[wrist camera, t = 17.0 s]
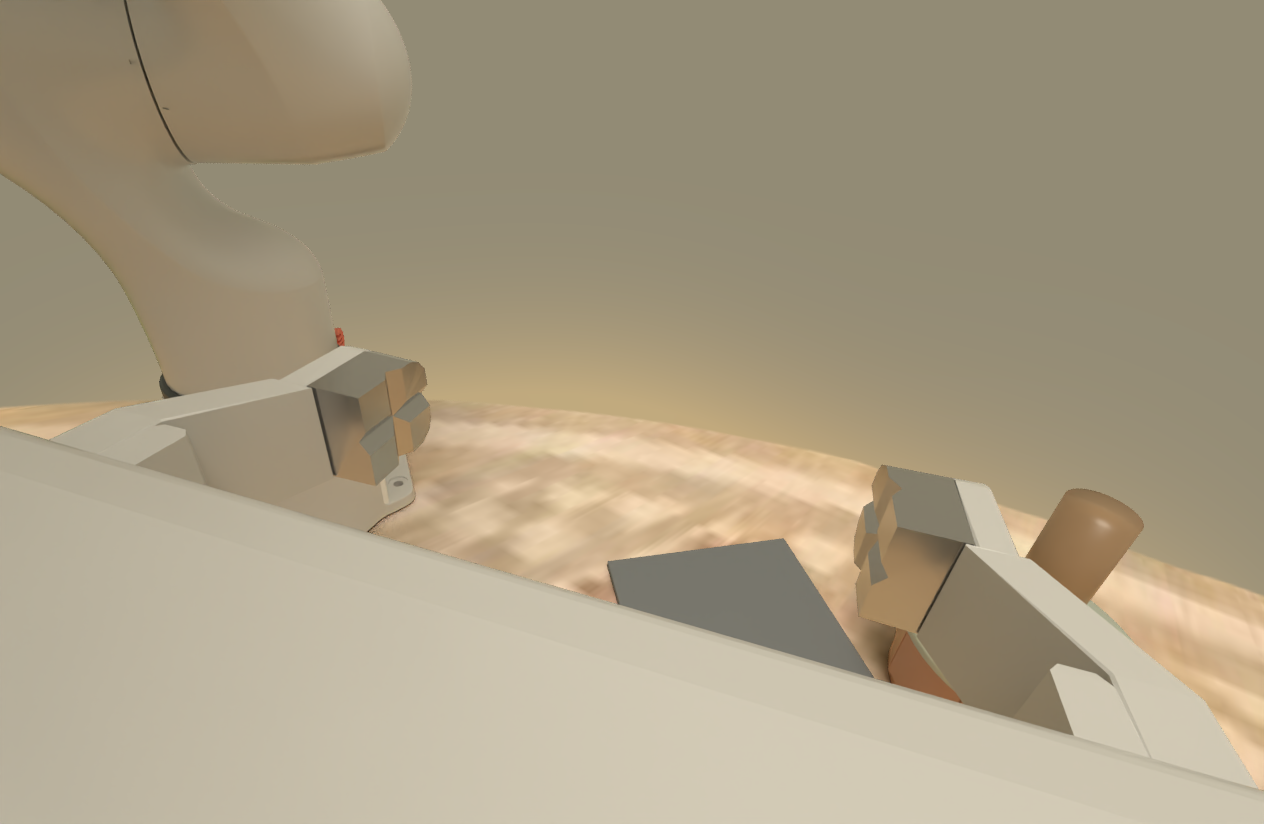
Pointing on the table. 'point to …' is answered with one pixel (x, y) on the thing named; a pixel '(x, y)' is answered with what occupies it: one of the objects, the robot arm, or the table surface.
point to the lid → (1078, 548)
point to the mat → (739, 598)
